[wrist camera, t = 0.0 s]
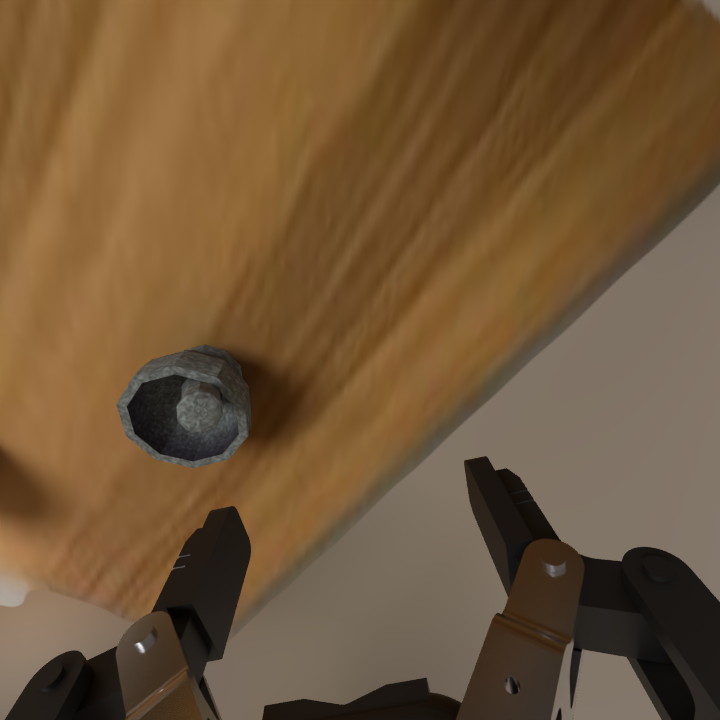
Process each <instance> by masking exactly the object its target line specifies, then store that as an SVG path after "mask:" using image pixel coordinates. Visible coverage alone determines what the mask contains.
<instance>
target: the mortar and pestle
mask: <svg viewBox="0 0 720 720" xmlns="http://www.w3.org/2000/svg"><path fill="white" fill-rule="evenodd" d="M117 407H118V411H119V414H120V417H121V421H122V424H123V427H124V431H125V434H126V436H127V437H128V438H129V439H131V440H132V441H133V442H134V443H136V444H137V445H138V446H140V447H141V448H142V449H143V450H145V451H146V452H147V453H148V454H150V455H151V456H152V457H154V458H155V459H156V460H160V461H165V462H170V463H174V464H179V465H183V466H188V467H192V468H196V467H200V466H204V465H208V464H212V463H216V462H220V461H224V460H228V459H229V458H230V457H231V456H232V455H233V454H234V452H235V451H236V450H237V449H238V448H239V446H240V445H241V444H242V443H243V442H244V441H245V439H246V438H247V437H248V435H249V431H250V428H251V416H252V413H251V403H250V393H249V385H248V384H247V383H246V381H245V380H244V379H243V378H242V370H241V366H240V365H239V364H238V363H237V361H236V360H235V359H234V358H233V357H232V356H231V355H230V354H229V353H228V352H227V351H225V350H221V349H218V348H214V347H211V346H207V345H202V346H198V347H195V348H191V349H187V350H184V351H182V352H178V353H175V354H171V355H167V356H164V357H160V358H157V359H153V360H151V361H150V362H148V363H147V364H146V365H144V366H143V367H142V368H141V369H140V370H139V371H138V372H137V373H136V375H135V376H134V377H133V379H132V380H131V382H130V383H129V385H128V387H127V388H126V390H125V391H124V393H123V395H122V396H121V398H120V399H119V401H118V403H117Z"/></svg>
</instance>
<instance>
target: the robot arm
mask: <svg viewBox="0 0 720 720" xmlns="http://www.w3.org/2000/svg"><path fill="white" fill-rule="evenodd" d="M464 465H465V473H466V480H467V487H468V494H469V499H470V504H471V507H472V511H473V514H474V516H475V519H476V521H477V523H478V526H479V528H480V531H481V533H482V536H483V538H484V540H485V543H486V545H487V547H488V550H489V552H490V555H491V557H492V559H493V562H494V564H495V567H496V569H497V572H498V574H499V576H500V579H501V581H502V584H503V586H504V588H505V591H506V593H507V595H508V600H507V603H506V606H505V609H504V611H503V613H502V614H500V613H497V614H496V615H495V616H494V618H493V619H492V622H491V624H490V627H489V630H488V632H487V636H486V638H485V641H484V644H483V646H482V649H481V652H480V654H479V657H478V660H477V663H476V665H475V669H474V671H473V674H472V676H471V679H470V682H469V685H468V688H467V690H466V693H465V696H464V698H463V701H462V703H461V702H459V701H456V700H455V699H452V698H450V697H448V696H444V695H441V694H437V693H431V692H430V690H429V686H428V682H427V678H422V679H416V680H410V681H405V682H400V683H393V684H387V685H385V686H383V687H381V688H379V689H377V690H374V691H372V692H370V693H369V694H366V695H364V696H362V697H360V698H358V699H357V700H354V701H352V702H350V703H348V704H345V705H339V704H332V703H326V702H320V701H314V700H307V699H301V700H295V701H290V702H283V703H278V704H272V705H266V706H265V707H264V714H263V719H262V720H573V716H574V710H575V704H576V698H577V691H578V685H579V679H580V673H581V667H582V661H583V655H584V650H589V651H596V652H601V653H607V654H613V655H618V656H625V657H627V659H628V660H629V662H630V664H631V666H632V667H633V669H634V671H635V673H636V675H637V676H638V678H639V680H640V682H641V683H642V685H643V687H644V689H645V691H646V692H647V694H648V696H649V698H650V699H651V701H652V703H653V704H654V707H655V708H656V710H657V712H658V714H659V715H660V717H661V719H662V720H720V602H719V601H718V600H717V598H716V597H715V596H714V595H713V594H712V593H711V592H710V590H709V589H708V588H707V587H706V586H705V585H704V584H703V582H702V581H701V580H700V579H699V578H698V577H697V576H696V574H695V573H694V572H693V571H692V570H691V569H690V568H689V567H688V566H687V565H686V564H685V563H684V562H683V561H682V560H680V559H679V558H677V557H676V556H674V555H672V554H670V553H668V552H666V551H663V550H660V549H656V548H651V547H638V548H634V549H631V550H629V551H628V552H626V554H625V555H624V556H623V559H622V561H612V560H601V559H594V558H589V557H586V556H583V555H580V554H578V552H577V551H576V550H575V549H573V548H572V547H571V546H569V545H568V544H566V543H564V542H561V540H560V539H559V538H558V536H557V535H556V533H555V531H554V530H553V528H552V527H551V525H550V524H549V522H548V521H547V519H546V518H545V516H544V514H543V513H542V511H541V510H540V508H539V507H538V505H537V504H536V502H535V501H534V500H533V497H532V496H531V494H530V493H529V492H528V491H527V488H526V487H525V485H524V483H523V482H522V480H521V479H520V477H518V476H517V475H515V474H514V473H513V472H511V471H510V470H508V469H507V468H506V469H501V470H496V471H495V470H494V468H493V466H492V464H491V463H490V461H489V459H488V458H487V457H486V456H484V457H479V458H474V459H469V460H465V461H464ZM250 556H251V545H250V540H249V537H248V535H247V532H246V530H245V528H244V525H243V523H242V521H241V518H240V516H239V513H238V511H237V509H236V508H235V507H234V506H231V507H226V508H221V509H216V510H212V511H210V513H209V514H208V517H207V519H206V521H205V523H204V525H203V528H199V529H197V530H196V531H195V532H194V533H193V534H192V535H191V536H190V538H189V539H188V540H187V541H186V542H185V544H184V546H183V548H182V550H181V552H180V554H179V559H177V561H176V563H175V565H174V567H173V570H172V571H171V573H170V575H169V577H168V579H167V581H166V583H165V585H164V587H163V589H162V591H161V593H160V595H159V598H158V600H157V602H156V604H155V606H154V608H153V610H152V612H151V613H150V614H148V615H146V616H144V617H142V618H141V619H139V620H138V621H136V622H135V623H134V624H133V625H132V626H131V627H130V628H129V629H128V630H127V631H126V633H125V634H124V635H123V637H122V638H121V640H120V641H119V644H118V646H116V647H114V648H112V649H110V650H108V651H106V652H104V653H102V654H100V655H98V656H96V657H94V658H91V659H89V660H86V658H85V657H84V656H83V654H82V653H81V652H79V651H69V652H65V653H63V654H61V655H59V656H57V657H55V658H54V659H52V660H51V661H49V662H48V663H47V664H46V665H44V666H43V667H42V668H41V669H40V670H39V671H38V672H37V673H36V674H35V675H34V676H33V678H32V679H31V680H30V681H29V683H28V684H27V686H26V687H25V689H24V690H23V692H22V694H21V695H20V696H19V698H18V700H17V701H16V703H15V704H14V706H13V708H12V709H11V711H10V713H9V714H8V715H7V717H6V719H5V720H222V719H221V716H220V714H219V711H218V708H217V706H216V704H215V701H214V698H213V696H212V693H211V690H210V688H209V685H208V683H207V680H206V678H205V676H204V675H203V672H204V669H205V666H206V663H207V662H208V661H214V660H219V659H222V657H223V653H224V650H225V646H226V643H227V639H228V636H229V632H230V628H231V625H232V621H233V618H234V614H235V610H236V607H237V603H238V600H239V596H240V593H241V589H242V585H243V582H244V578H245V575H246V571H247V568H248V564H249V560H250Z"/></svg>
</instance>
